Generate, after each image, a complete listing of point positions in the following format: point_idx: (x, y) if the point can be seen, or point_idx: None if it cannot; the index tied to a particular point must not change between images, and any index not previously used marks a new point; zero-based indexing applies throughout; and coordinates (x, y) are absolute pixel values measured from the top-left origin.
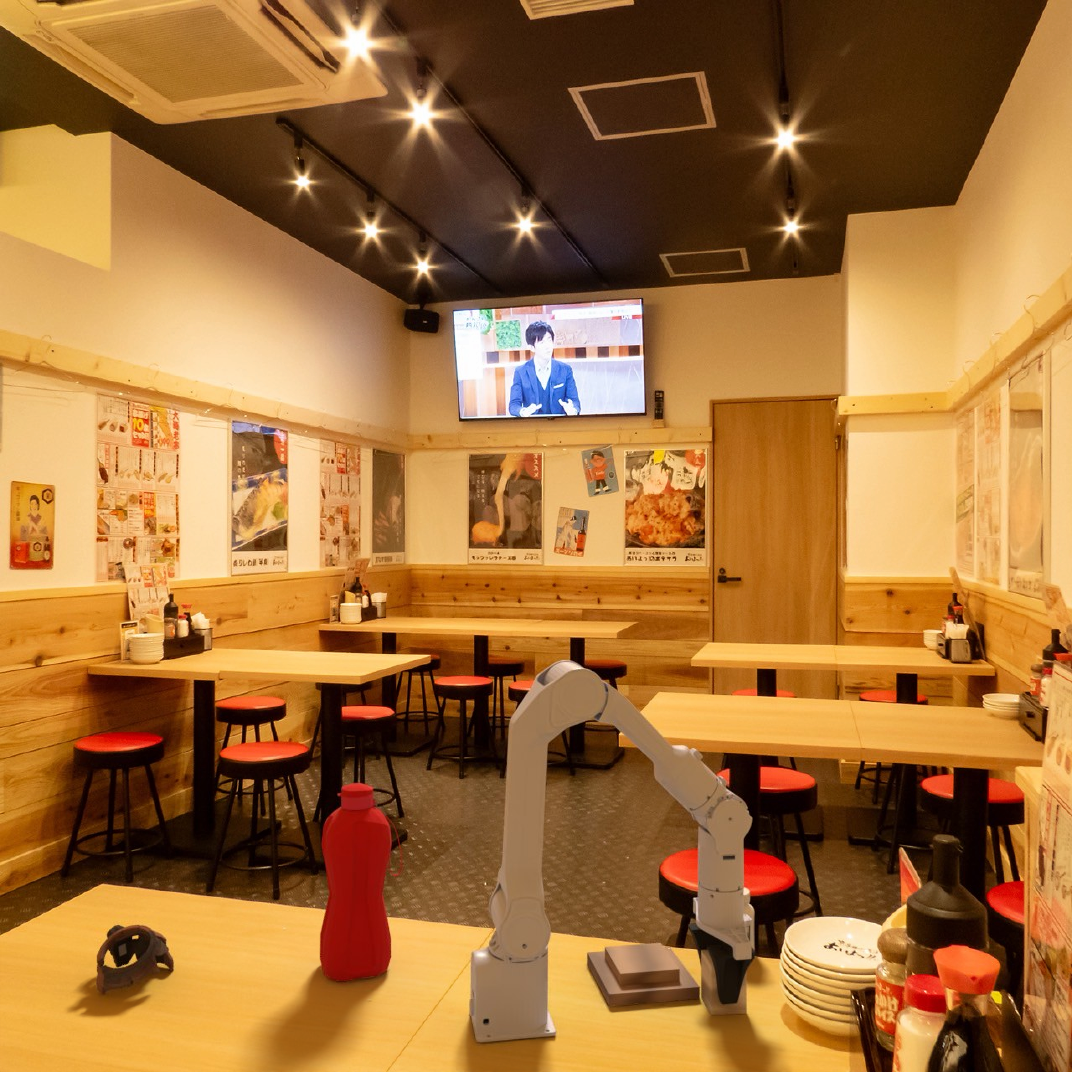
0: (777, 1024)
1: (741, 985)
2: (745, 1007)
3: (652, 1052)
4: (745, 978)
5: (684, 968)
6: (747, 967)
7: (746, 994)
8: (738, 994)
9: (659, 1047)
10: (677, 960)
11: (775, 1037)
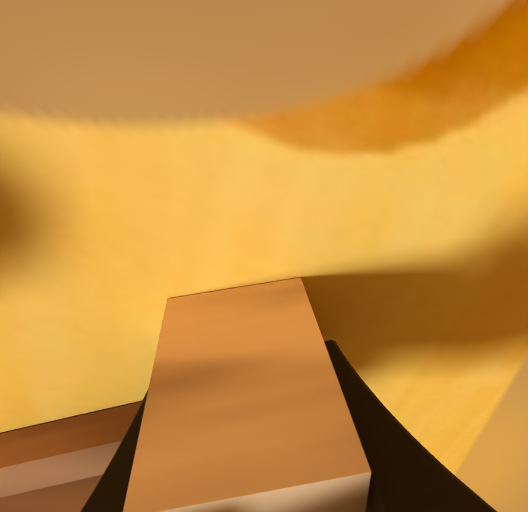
0: (389, 182)
1: (371, 393)
2: (306, 294)
3: (439, 445)
4: (342, 393)
5: (76, 454)
6: (475, 495)
7: (317, 327)
8: (349, 365)
9: (426, 438)
10: (15, 469)
11: (471, 209)
